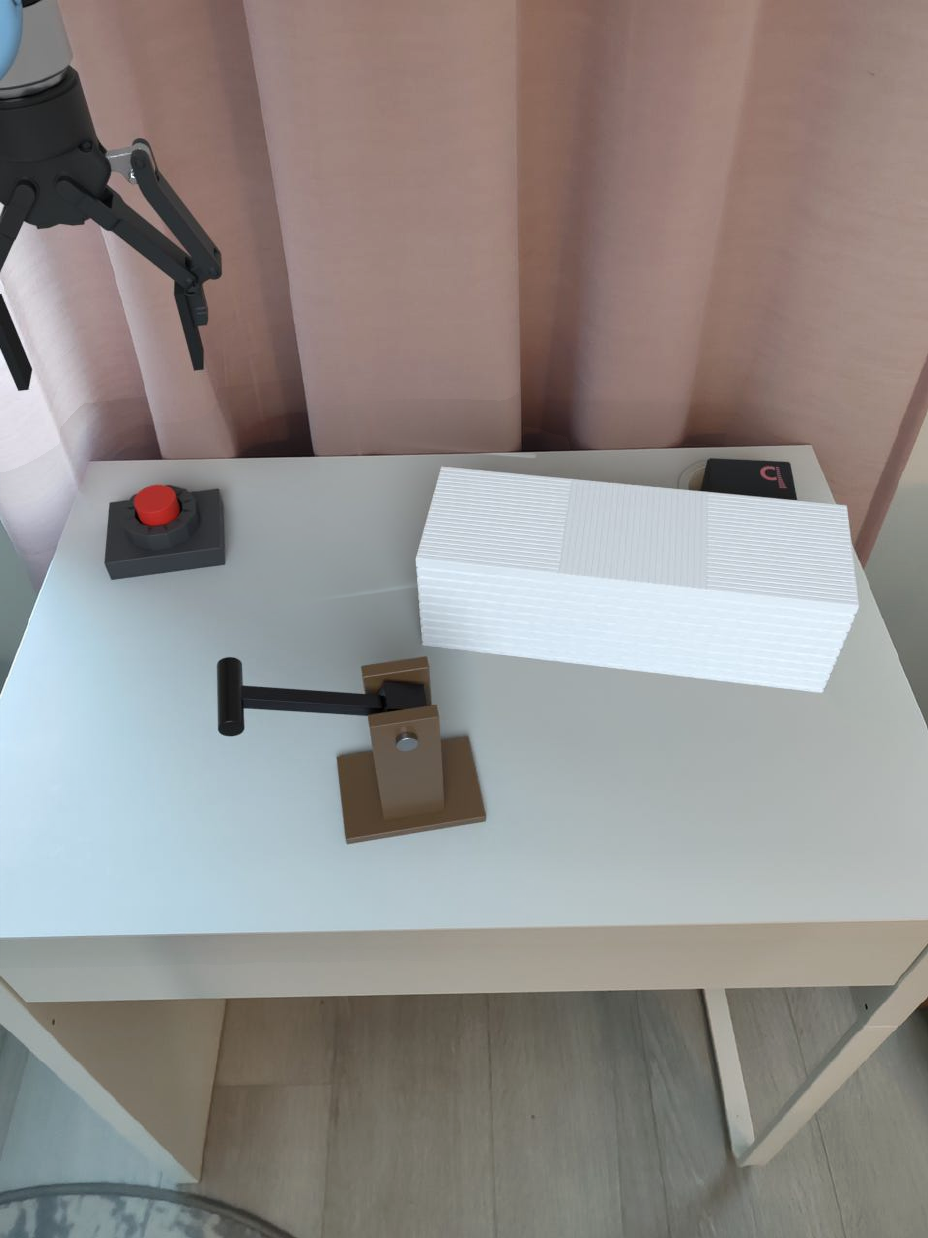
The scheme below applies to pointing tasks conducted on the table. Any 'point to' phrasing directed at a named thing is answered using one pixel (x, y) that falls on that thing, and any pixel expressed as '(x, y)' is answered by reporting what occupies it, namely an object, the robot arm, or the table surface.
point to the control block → (166, 537)
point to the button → (157, 505)
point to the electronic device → (749, 478)
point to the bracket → (407, 767)
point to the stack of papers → (637, 577)
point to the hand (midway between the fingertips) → (113, 370)
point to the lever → (302, 698)
